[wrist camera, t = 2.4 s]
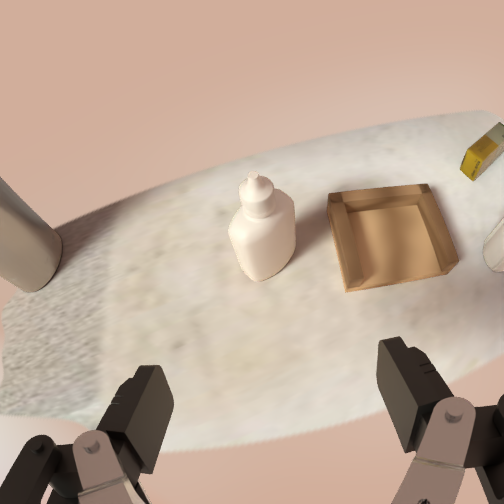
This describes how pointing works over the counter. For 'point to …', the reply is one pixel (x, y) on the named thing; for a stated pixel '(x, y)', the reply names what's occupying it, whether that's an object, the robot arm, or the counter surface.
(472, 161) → the medication box
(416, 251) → the oak tray
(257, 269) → the eye dropper bottle
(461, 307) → the counter surface
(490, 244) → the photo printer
